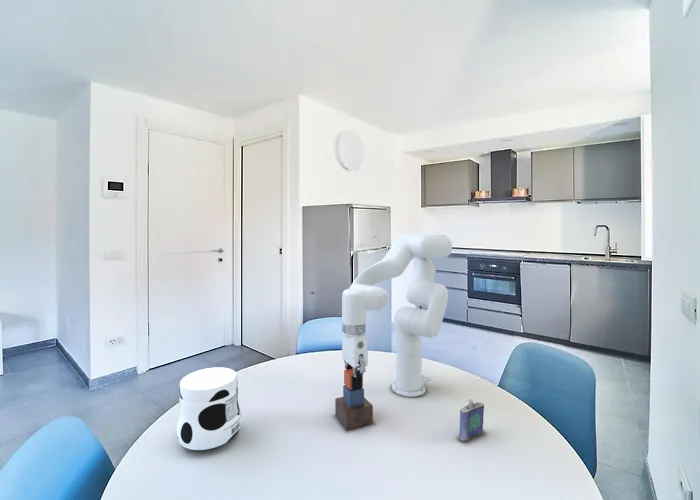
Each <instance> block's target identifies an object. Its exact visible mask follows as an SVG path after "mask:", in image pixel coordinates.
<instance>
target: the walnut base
mask: <svg viewBox="0 0 700 500" xmlns="http://www.w3.org/2000/svg"><path fill="white" fill-rule="evenodd" d="M334 402H335V403H334V405H335V406H334V408H335V409H334V410H335V411H334V413H335V414H334V415H335V418H336V419H337V420H338V422H339V423H340V425H341V426H342V427H343V428H344V430H345V431H346V432H348V431H351V430H355V429H359V428H363V427H366V426H370V425H373V424H374V422H373V421H374V420H373V418H374V406H373V404H372V403H371V402H370V401H369V400H368V399H366V397H365V396H364V405H360V406H356V407H351V408H349V407H348V405H347V404H346V403H345V402H344V401H343V396H340V397H336V398H335V399H334Z"/></svg>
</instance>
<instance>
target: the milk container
mask: <svg viewBox="0 0 700 500" xmlns="http://www.w3.org/2000/svg"><path fill="white" fill-rule="evenodd" d="M238 383H239V381H238V375H237V372H236V371H235V370H234V369H232V368H229V367H228V368H227V367H223V366H222V367H220V366H216V367H215V366H214V367H207V368H206V367H205V368H202V369H199V370H195V371H192V372H189V373H188V374H186V375H185V376H184V377H182V379H180V382H179V389H178V391H179V398H178V399H179V415H178V419H177V423H176V435H177V440H178V443H179V444H180V445H181V446H182V447H183V448H184V449H186V450H189V451H192V452H206V451H212V450H216V449H218V448H221V447H223V446H225V445H226V444H228V443H229V442H230V441H231V442H232V440H234V439H235V438H236V436H237V435H238V433H239V431H240V430H241V425H242V411H241V407H240V404H239V398H238V397H239V386H238V385H239V384H238Z"/></svg>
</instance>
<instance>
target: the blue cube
mask: <svg viewBox="0 0 700 500" xmlns="http://www.w3.org/2000/svg"><path fill="white" fill-rule="evenodd" d="M342 397H343V401H344V402H345V403H346V404H347V405H348V407H349V408H351V407H356V406H360V405H364V397H365V388H364V387H362V388H359V389H351V390H350V389H349V388H348V387H347V386H346V385H345V384H343V385H342Z"/></svg>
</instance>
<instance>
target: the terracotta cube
mask: <svg viewBox="0 0 700 500" xmlns="http://www.w3.org/2000/svg"><path fill="white" fill-rule="evenodd" d="M358 370H359V368H357V369H356V372H357V371H358ZM352 376H354V375H353V369H348V370H347V369H344V371H343V385H346V386H347V387H348V388H349V389H350V390H351V389H352ZM362 388H364V375H363V376H362Z"/></svg>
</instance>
